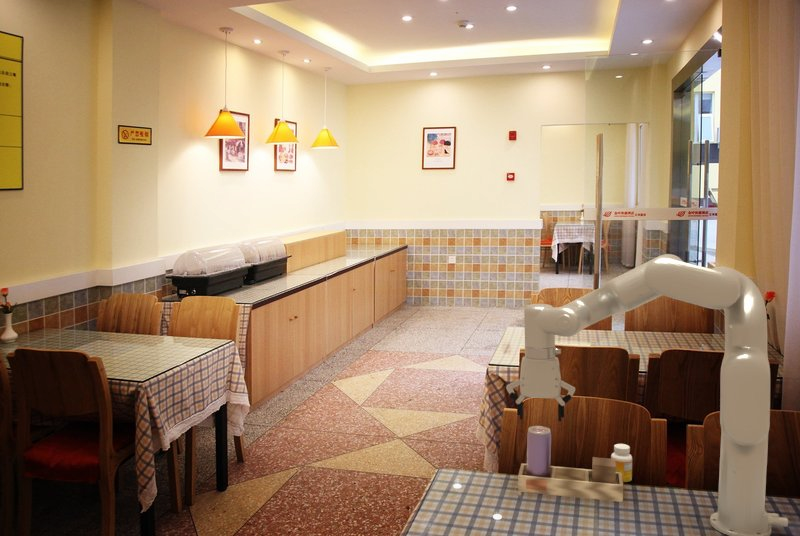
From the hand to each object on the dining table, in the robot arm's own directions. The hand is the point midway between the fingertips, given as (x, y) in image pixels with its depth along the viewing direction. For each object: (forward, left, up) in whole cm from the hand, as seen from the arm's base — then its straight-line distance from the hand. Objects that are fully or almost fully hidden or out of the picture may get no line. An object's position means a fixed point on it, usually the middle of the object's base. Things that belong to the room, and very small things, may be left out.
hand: (540, 418), depth 180 cm
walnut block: (-16, 0, -18) cm, 24 cm away
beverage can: (0, 0, -18) cm, 18 cm away
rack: (-8, 0, -19) cm, 20 cm away
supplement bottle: (-21, -11, -19) cm, 30 cm away
